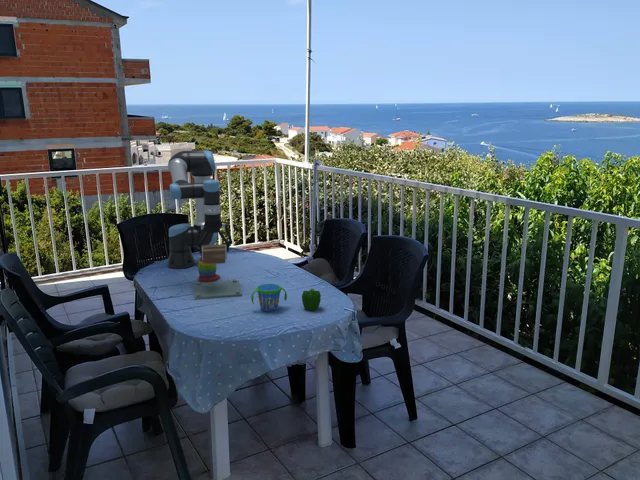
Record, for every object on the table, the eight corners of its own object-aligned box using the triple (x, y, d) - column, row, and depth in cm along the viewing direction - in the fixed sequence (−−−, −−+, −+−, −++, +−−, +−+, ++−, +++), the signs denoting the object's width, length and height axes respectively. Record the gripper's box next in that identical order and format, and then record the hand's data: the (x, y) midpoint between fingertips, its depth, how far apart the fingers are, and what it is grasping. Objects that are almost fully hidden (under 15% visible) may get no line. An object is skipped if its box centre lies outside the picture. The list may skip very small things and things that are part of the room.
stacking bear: (221, 277, 275) (219, 244, 271) (215, 282, 266) (213, 249, 262) (201, 276, 276) (199, 243, 272) (194, 282, 267) (192, 248, 263)
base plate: (194, 285, 262) (194, 281, 261) (238, 282, 267) (238, 278, 266) (194, 299, 241) (194, 295, 241) (242, 296, 246) (242, 292, 246)
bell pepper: (302, 305, 234) (302, 284, 232) (320, 305, 234) (320, 284, 231) (301, 312, 226) (301, 290, 223) (320, 312, 225) (320, 290, 223)
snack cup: (285, 303, 236) (284, 282, 234) (288, 311, 226) (288, 289, 224) (250, 306, 233) (249, 284, 230) (252, 314, 223) (252, 292, 220)
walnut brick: (204, 257, 256) (204, 245, 254) (225, 256, 257) (224, 244, 256) (203, 264, 243) (202, 251, 242) (225, 263, 245) (224, 250, 243)
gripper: (187, 215, 239) (190, 262, 244) (237, 213, 244) (239, 259, 249) (187, 212, 246) (190, 258, 251) (236, 211, 251) (237, 255, 256)
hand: (214, 258), depth 250 cm, fingers closed on walnut brick, 10 cm apart
